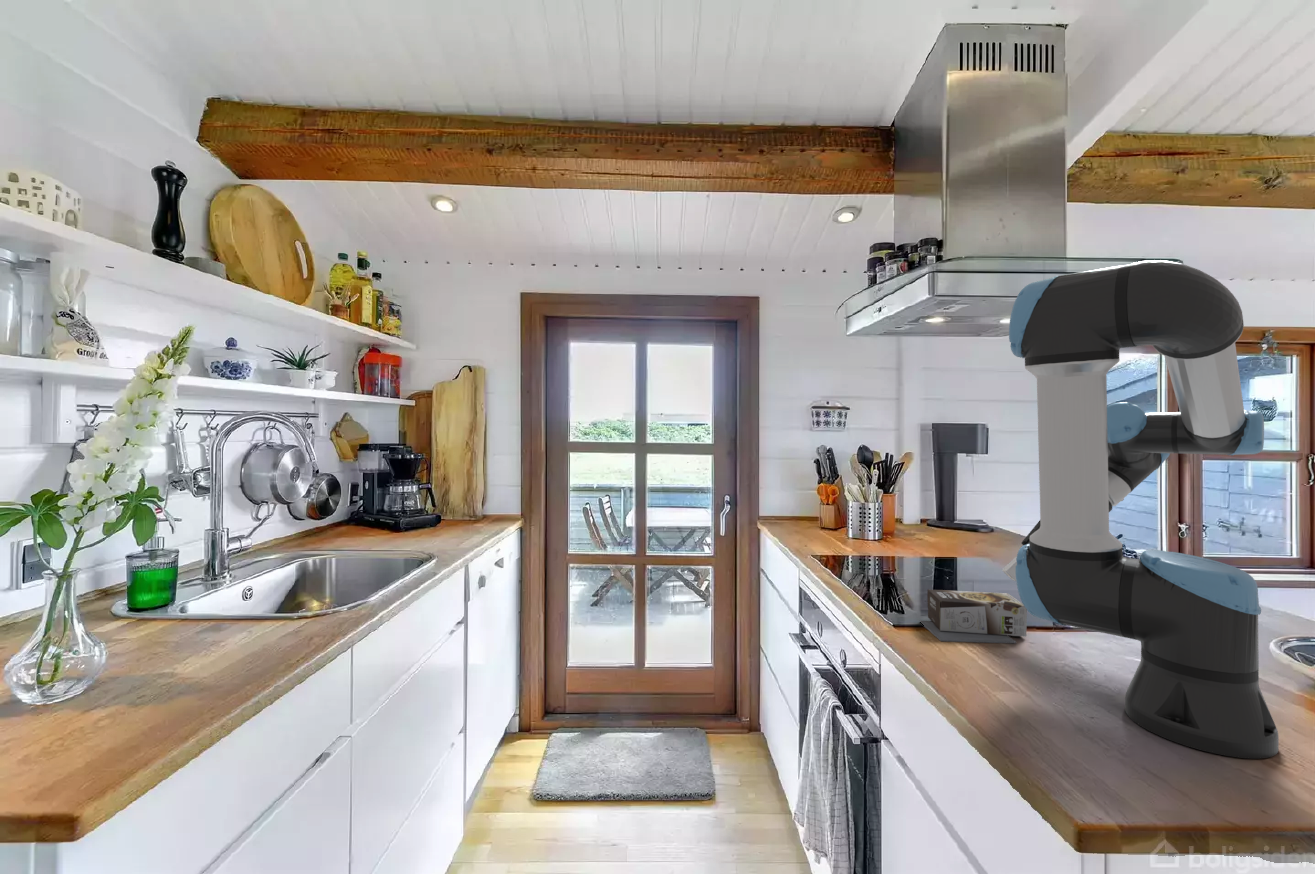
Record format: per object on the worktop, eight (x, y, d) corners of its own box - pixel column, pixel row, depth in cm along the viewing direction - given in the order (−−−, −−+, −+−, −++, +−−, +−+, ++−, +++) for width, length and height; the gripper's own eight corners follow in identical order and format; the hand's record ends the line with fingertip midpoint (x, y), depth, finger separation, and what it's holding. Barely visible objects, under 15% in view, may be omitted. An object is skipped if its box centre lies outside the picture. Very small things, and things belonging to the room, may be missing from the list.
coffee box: (1027, 605, 110) (939, 600, 113) (1027, 637, 110) (939, 632, 113) (1007, 591, 119) (926, 588, 122) (1007, 621, 119) (926, 617, 122)
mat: (987, 624, 119) (987, 622, 119) (1016, 643, 108) (1016, 641, 108) (919, 622, 120) (919, 620, 120) (940, 641, 109) (940, 639, 109)
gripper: (1133, 512, 106) (1041, 598, 108) (1087, 504, 119) (1005, 580, 121) (1104, 484, 107) (1012, 570, 108) (1061, 479, 120) (979, 555, 121)
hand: (1008, 575), depth 114 cm, fingers closed
